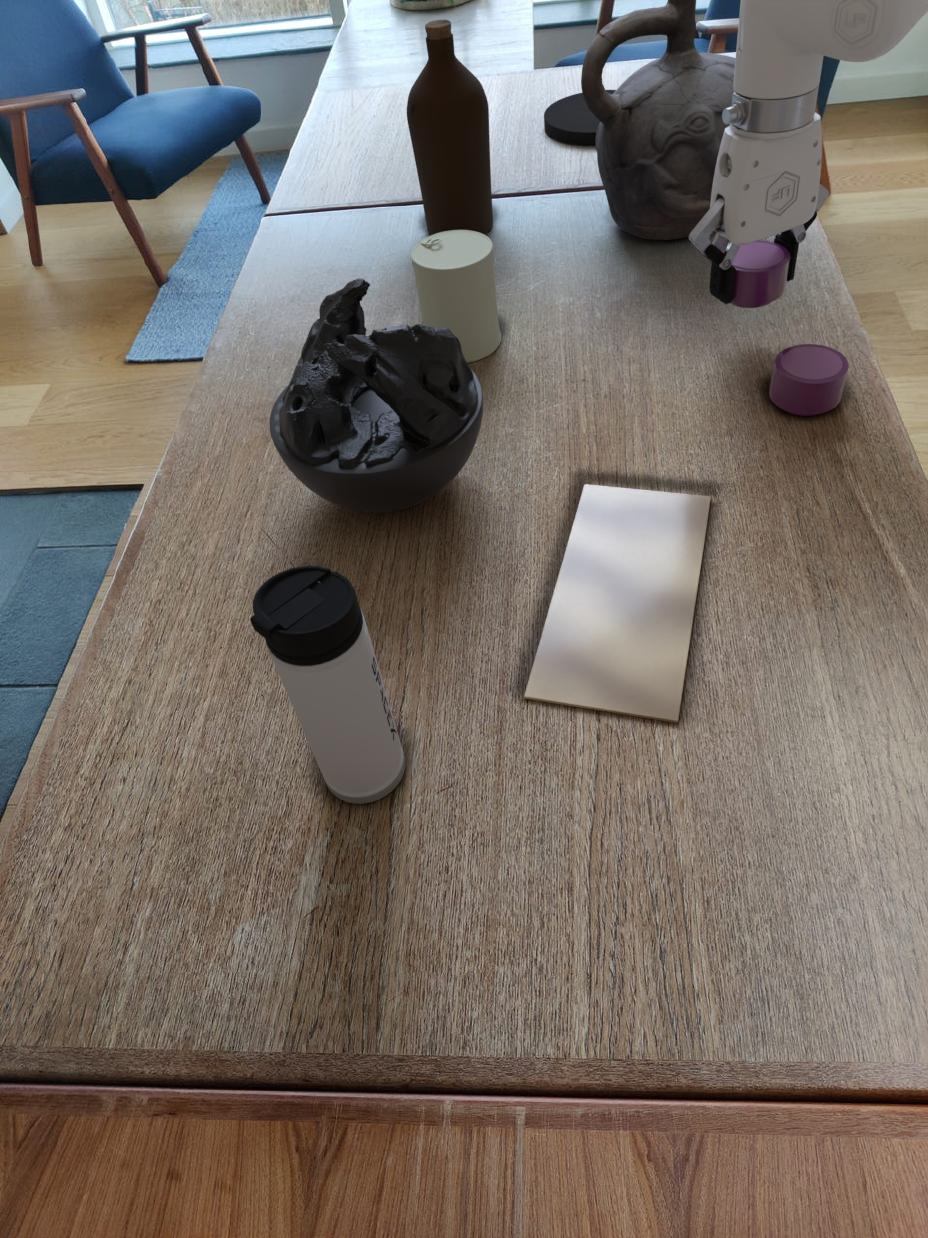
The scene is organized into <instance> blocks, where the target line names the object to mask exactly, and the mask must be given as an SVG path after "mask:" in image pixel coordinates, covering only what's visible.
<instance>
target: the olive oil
mask: <svg viewBox="0 0 928 1238" xmlns="http://www.w3.org/2000/svg"><path fill="white" fill-rule="evenodd" d="M424 28H425V29H424V30H425V33H426V37H425V45H426V51H427V61H426V63H425V64H424V67H423V68H422V70H421V72H420V73H419V75H418V76H417V78H416V79H415V81H414V83H413V85H412V86H411V88H410V91H409V93H408V97H407V103H406V121H407V125H408V132H409V136H410V141H411V146H412V152H413V157H414V162H415V166H416V168H415V169H416V173H417V178H418V183H419V188H420V189H419V190H420V194H421V195H420V196H421V201H422V206H423V213H424V216H425V217H424V218H425V224H426V231H427V233H428V235H429V236H431V235H433V234H437V233H440V232H445V231H451V230H470V231H475V232H479V233H482V234H484V235H486V234H487V233H489V231H491V229H492V228H493V226H494V213H493V194H492V172H491V171H492V170H491V146H490V143H491V141H490V139H491V138H490V109H489V107H490V106H489V101H488V97H487V94H486V92H485V89H484V86H483V84H482V83H481V81H480V80H479V79H478V77H476V76H475V74H474V73H473V72H472V71H470V70H469V69H468V68H467V67H466V66H465V65H464V64H463V63H462V62H461V61H460V60H459V59H458V58H457V56H456V54H455V42H454V34H453V33H452V22H451V20H449V19H435V20H432V21H429V22H427V23H426V24H425V25H424Z"/></svg>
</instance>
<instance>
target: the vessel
mask: <svg viewBox="0 0 928 1238" xmlns="http://www.w3.org/2000/svg"><path fill="white" fill-rule="evenodd" d="M696 8H697V0H667V3H666V4H665V5H663V6H659V7H647V8H641V9H640V8H639V9H635V10H632V11H631V12H628V13H626V14H623V15H621V16H619V17H617V18H616V19H614V20H612V21H610V22H609V23H607V24H606V25H605V26H603V27H602V29H600V30H599V32H598V33H597V34H596V36H595V37H594V39H593V40H592V42H591V44H590V45H589V47H588V48H587V50H586V53H585V55H584V59H583V62H582V67H581V76H580V77H581V78H580V86H581V93H583V97H584V99H585V101H586V104H587V106H588V108H589V109H590V111H591V112H592V113H593V114H594V116H595V117H596V118H597V119H598V120H599V121H600V124H599V126H598V129H597V133H596V138H595V144H596V146H595V150H596V154H597V155H596V157H597V158H596V160H597V161H596V162H597V168H598V172H599V173H598V174H599V177H600V180H601V184H602V187H603V189H604V192H605V193H604V194H605V197H606V200H607V204H608V208H609V212H610V215H611V218H612V220H613V221H614V223H615V224H616V226H617V227H618V228H619V229H620V230H622V231H623V232H626V233H628V234H630V235H632V236H635V237H638V238H641V239H647V240H665V241H666V240H667V241H668V240H678V239H684V238H689V234H690V233H691V231H692V230H693V229H694V228H695V226H696V225H697V224H698V223H699V222H700V220H701V219H702V218H703V217H704V215H705V214H706V213H707V212H708V210H709V209H710V202H711V192H712V185H713V179H714V173H715V167H716V162H717V158H718V153H719V149H720V145H721V141H722V138H723V134H724V131H725V128H727V127H729V126H730V124H725V123H724V122H723V119H722V112H723V110H724V109H726V108H729V107H730V106H731V104H732V93H733V82H734V71H735V59H736V57H734V56H730V55H725V54H720V53H710V52H699V51H698V50H697V47H696V45H695V25H696V24H695V23H696ZM647 36H666V48H665V51H664V53H663V55H662V56H661V57H659V58H657V59H654V60H652V61H650V62H647V63H646V64H645V65H643V66H641V67H640V68H638V69H637V70H636V71H634V72H633V73H632V74H631V75H629V76H628V77H627V78H626V79H625V80H624V81H623V82H622V84H620V85H619V86H618V87H617V89H615V90H616V91H615V92H614V93H613V94H609V93H608V92H607V91H606V90H607V89H606V88H605V86H604V84H603V71H604V69H605V68H604V67H606V63H607V61H608V59H609V58H610V57H611V55H612V53H613V52H614V51H615V49H616V48H618V47H619V46H620V45H621V44H624V43H625V42H628V41H630V40H633V39H637V38H640V37H647Z"/></svg>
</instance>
